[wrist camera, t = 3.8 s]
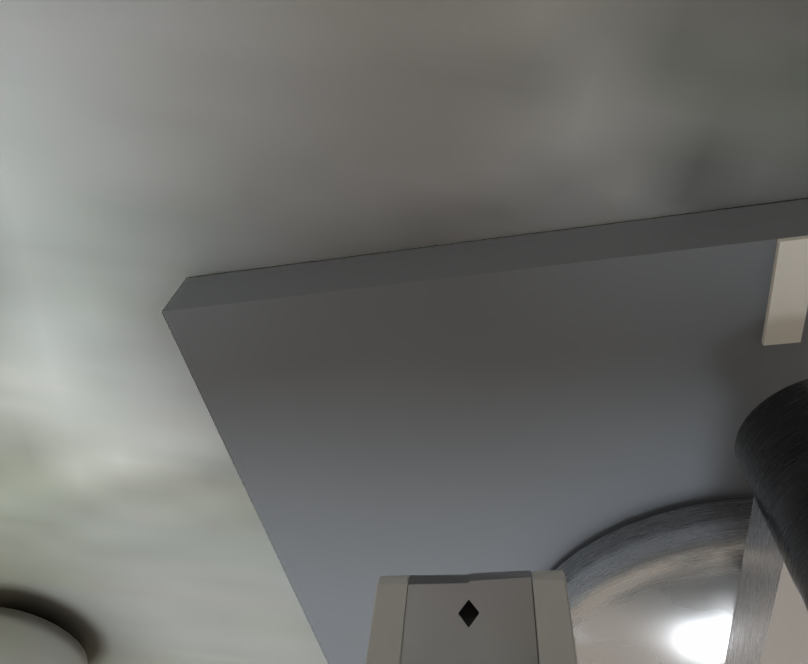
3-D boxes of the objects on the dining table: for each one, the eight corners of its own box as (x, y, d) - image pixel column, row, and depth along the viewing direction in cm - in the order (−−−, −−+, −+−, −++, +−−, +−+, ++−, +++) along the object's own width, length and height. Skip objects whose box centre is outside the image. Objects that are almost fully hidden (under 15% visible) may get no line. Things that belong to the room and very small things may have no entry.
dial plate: (186, 278, 15) (159, 314, 14) (1595, 98, 11) (1754, 127, 9) (393, 757, 30) (390, 798, 28) (1037, 768, 25) (1068, 817, 24)
